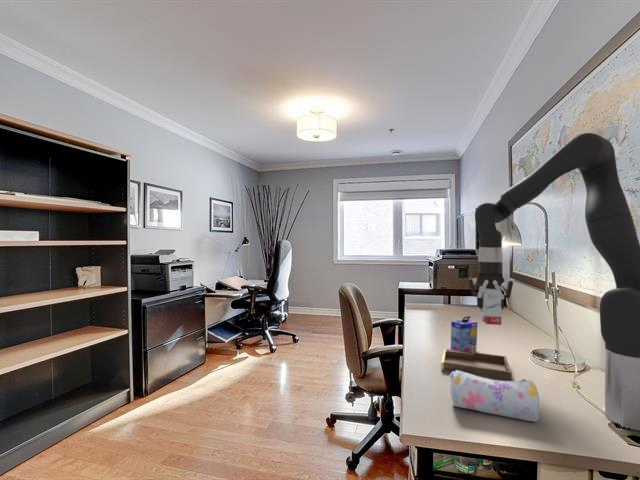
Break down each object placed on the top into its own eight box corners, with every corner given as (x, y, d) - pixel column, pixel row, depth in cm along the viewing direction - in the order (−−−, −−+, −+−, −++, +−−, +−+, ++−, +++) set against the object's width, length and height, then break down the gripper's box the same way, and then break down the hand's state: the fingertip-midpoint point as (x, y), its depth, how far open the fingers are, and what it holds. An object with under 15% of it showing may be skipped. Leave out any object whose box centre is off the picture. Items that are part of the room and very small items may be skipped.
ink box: (502, 325, 109) (501, 290, 109) (486, 324, 110) (486, 289, 110) (493, 319, 117) (493, 286, 118) (479, 318, 118) (479, 286, 119)
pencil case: (534, 412, 86) (534, 375, 86) (544, 429, 78) (544, 389, 78) (449, 398, 94) (449, 365, 94) (449, 413, 86) (449, 376, 86)
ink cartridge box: (461, 355, 129) (461, 318, 129) (449, 351, 134) (449, 315, 134) (478, 351, 133) (478, 315, 133) (466, 347, 138) (466, 313, 138)
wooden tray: (511, 382, 104) (511, 372, 104) (441, 371, 113) (441, 362, 113) (505, 364, 119) (505, 356, 119) (444, 356, 127) (444, 348, 127)
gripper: (467, 260, 113) (467, 309, 113) (515, 261, 107) (515, 313, 107) (467, 259, 120) (467, 305, 120) (512, 260, 114) (512, 308, 114)
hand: (490, 308), depth 114 cm, fingers closed on ink box, 5 cm apart
